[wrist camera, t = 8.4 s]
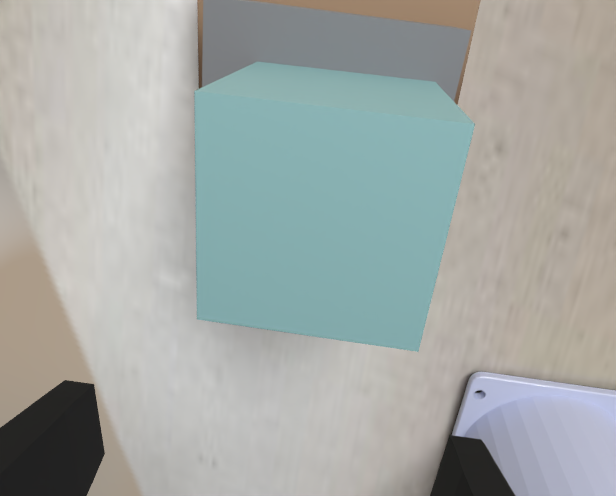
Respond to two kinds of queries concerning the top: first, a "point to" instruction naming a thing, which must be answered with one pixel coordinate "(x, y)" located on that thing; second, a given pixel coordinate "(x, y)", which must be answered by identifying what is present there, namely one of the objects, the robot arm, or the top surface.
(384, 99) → the teal block
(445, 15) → the walnut block
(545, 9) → the top surface
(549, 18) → the top surface
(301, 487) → the top surface
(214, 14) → the gray block
